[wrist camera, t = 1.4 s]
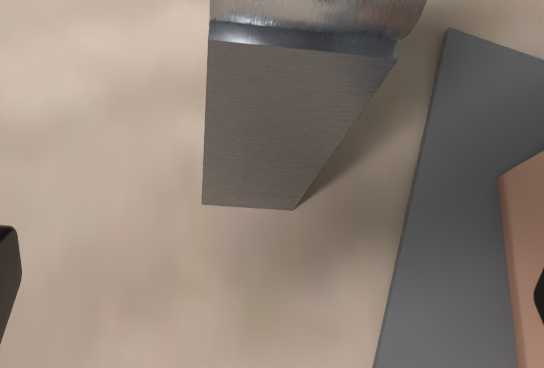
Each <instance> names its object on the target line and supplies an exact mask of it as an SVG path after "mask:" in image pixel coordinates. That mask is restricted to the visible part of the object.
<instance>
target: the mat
mask: <svg viewBox="0 0 544 368" xmlns="http://www.w3.org/2000/svg"><path fill="white" fill-rule="evenodd" d="M542 151H544V60H541V59H538V58H535V57H532V56H530V55H527V54H524V53H521V52H518V51H515V50H512V49H509V48H507V47H504V46H501V45H498V44H495V43H492V42H489V41H486V40H484V39H481V38H478V37H475V36H472V35H469V34H466V33H463V32H460V31H458V30H455V29H452V28H448V30H447V31H446V32H445V37H444V41H443V46H442V51H441V55H440V60H439V64H438V69H437V74H436V78H435V83H434V88H433V92H432V97H431V101H430V106H429V111H428V115H427V120H426V124H425V129H424V134H423V138H422V143H421V147H420V152H419V157H418V161H417V166H416V170H415V175H414V180H413V184H412V189H411V194H410V198H409V203H408V207H407V212H406V217H405V221H404V226H403V230H402V235H401V240H400V244H399V249H398V253H397V258H396V263H395V267H394V272H393V276H392V281H391V286H390V290H389V295H388V300H387V304H386V309H385V313H384V318H383V323H382V327H381V332H380V336H379V341H378V346H377V350H376V355H375V359H374V364H373V368H518V360H517V351H516V342H515V332H514V323H513V314H512V305H511V296H510V287H509V278H508V269H507V260H506V251H505V242H504V233H503V223H502V214H501V205H500V196H499V187H498V178H497V177H499V176H501V175H502V174H504V173H506V172H507V171H509V170H511V169H513V168H514V167H516V166H518V165H520V164H521V163H523V162H525V161H527V160H528V159H530V158H532V157H534V156H535V155H537V154H539V153H541V152H542Z"/></svg>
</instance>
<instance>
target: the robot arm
mask: <svg viewBox="0 0 544 368" xmlns="http://www.w3.org/2000/svg"><path fill="white" fill-rule="evenodd" d="M21 277H22V267H21V259H20V251H19V243H18V236H17V232H16V230H15V229H14V228H13V227H12V226H6V225H0V344H1V341H2V338H3V335H4V332H5V329H6V326H7V323H8V320H9V317H10V314H11V310H12V307H13V304H14V301H15V298H16V295H17V292H18V289H19V286H20V283H21ZM533 299H534V304H535V306H536V309H537V311H538V313H539V316H540V318H541V320H542V323H543V325H544V268H543V270H542V272H541V275H540V277H539V279H538V282H537V284H536V286H535V289H534V293H533Z"/></svg>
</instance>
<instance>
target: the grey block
mask: <svg viewBox="0 0 544 368" xmlns="http://www.w3.org/2000/svg"><path fill="white" fill-rule="evenodd" d="M426 1H427V0H210V23H209V36H208V58H207V83H206V108H205V133H204V158H203V183H202V205H217V206H233V207H248V208H264V209H279V210H294V208H295V207H296V205H297V204H298V203H299V201H300V200H301V198H302V197H303V195H304V194H305V192H306V191H307V190H308V188H309V187H310V185H311V184H312V182H313V181H314V180H315V178H316V177H317V175H318V174H319V172H320V171H321V169H322V168H323V167H324V165H325V164H326V162H327V161H328V159H329V158H330V157H331V155H332V154H333V152H334V151H335V149H336V148H337V146H338V145H339V144H340V142H341V141H342V139H343V138H344V136H345V135H346V134H347V132H348V131H349V129H350V128H351V126H352V125H353V124H354V122H355V121H356V119H357V118H358V116H359V115H360V113H361V112H362V111H363V109H364V108H365V106H366V105H367V103H368V102H369V101H370V99H371V98H372V96H373V95H374V93H375V92H376V90H377V89H378V88H379V86H380V85H381V83H382V82H383V80H384V79H385V78H386V76H387V75H388V73H389V72H390V70H391V69H392V67H393V66H394V65H395V63H396V62H397V60H398V45H397V40H401V39H403V38H404V37H406V36H407V35H408V34H409V33H410V31H411V30H412V29H413V27H414V26H415V24H416V22H417V21H418V19H419V17H420V15H421V13H422V11H423V8H424V6H425V4H426Z"/></svg>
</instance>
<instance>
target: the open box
mask: <svg viewBox="0 0 544 368" xmlns="http://www.w3.org/2000/svg"><path fill="white" fill-rule="evenodd" d="M497 178H498V187H499V196H500V205H501V214H502V223H503V233H504V242H505V251H506V260H507V269H508V278H509V287H510V296H511V305H512V314H513V323H514V332H515V342H516V351H517V360H518V368H544V325H543V323H542V320H541V318H540V316H539V313H538V311H537V309H536V306H535V304H534V299H533V293H534V289H535V286H536V284H537V282H538V279H539V277H540V275H541V272H542V270H543V268H544V151H542V152H541V153H539V154H537V155H535V156H534V157H532V158H530V159H528V160H527V161H525V162H523V163H521V164H520V165H518V166H516V167H514V168H513V169H511V170H509V171H507V172H506V173H504V174H502V175H501V176H499V177H497Z"/></svg>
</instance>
